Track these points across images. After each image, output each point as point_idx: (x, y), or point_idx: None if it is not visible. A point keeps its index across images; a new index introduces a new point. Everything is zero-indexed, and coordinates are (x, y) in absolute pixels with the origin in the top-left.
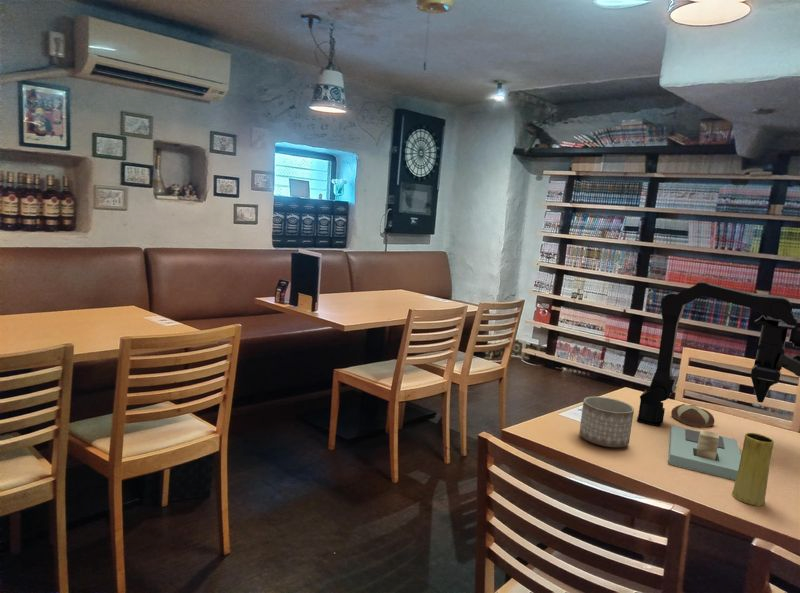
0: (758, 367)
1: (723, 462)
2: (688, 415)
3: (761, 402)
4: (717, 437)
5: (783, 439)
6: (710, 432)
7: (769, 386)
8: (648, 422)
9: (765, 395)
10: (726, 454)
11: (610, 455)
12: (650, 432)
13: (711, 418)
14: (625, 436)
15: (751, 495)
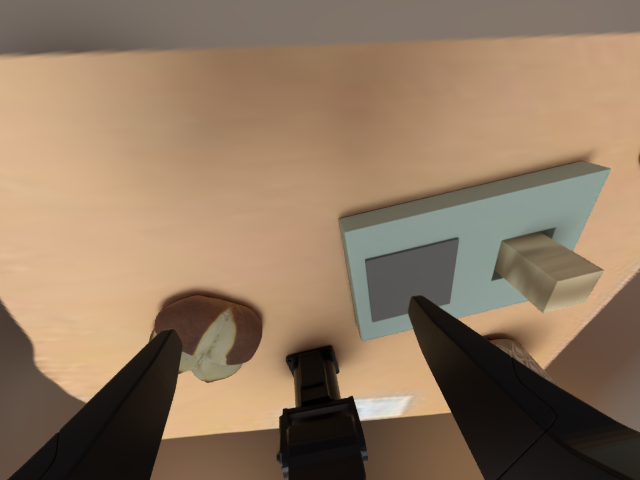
0: None
1: (558, 219)
2: (256, 347)
3: (418, 297)
4: (594, 274)
5: (31, 102)
6: (556, 294)
7: (613, 424)
8: (335, 361)
9: (475, 334)
10: (496, 226)
11: (535, 334)
12: (380, 342)
13: (204, 315)
14: (524, 356)
15: None
